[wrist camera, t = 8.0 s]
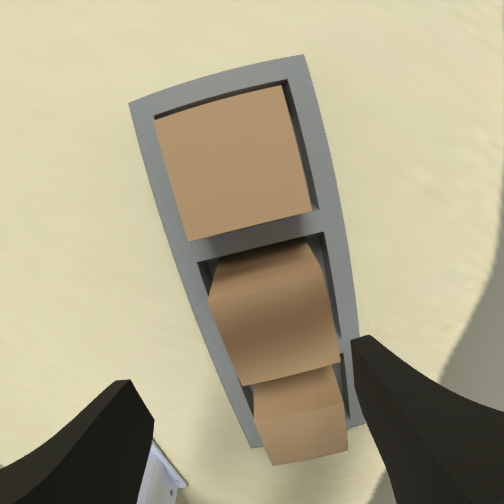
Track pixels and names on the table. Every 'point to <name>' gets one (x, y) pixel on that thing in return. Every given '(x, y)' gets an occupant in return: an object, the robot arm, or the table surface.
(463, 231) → the table surface
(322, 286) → the walnut block
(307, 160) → the pocket tray
